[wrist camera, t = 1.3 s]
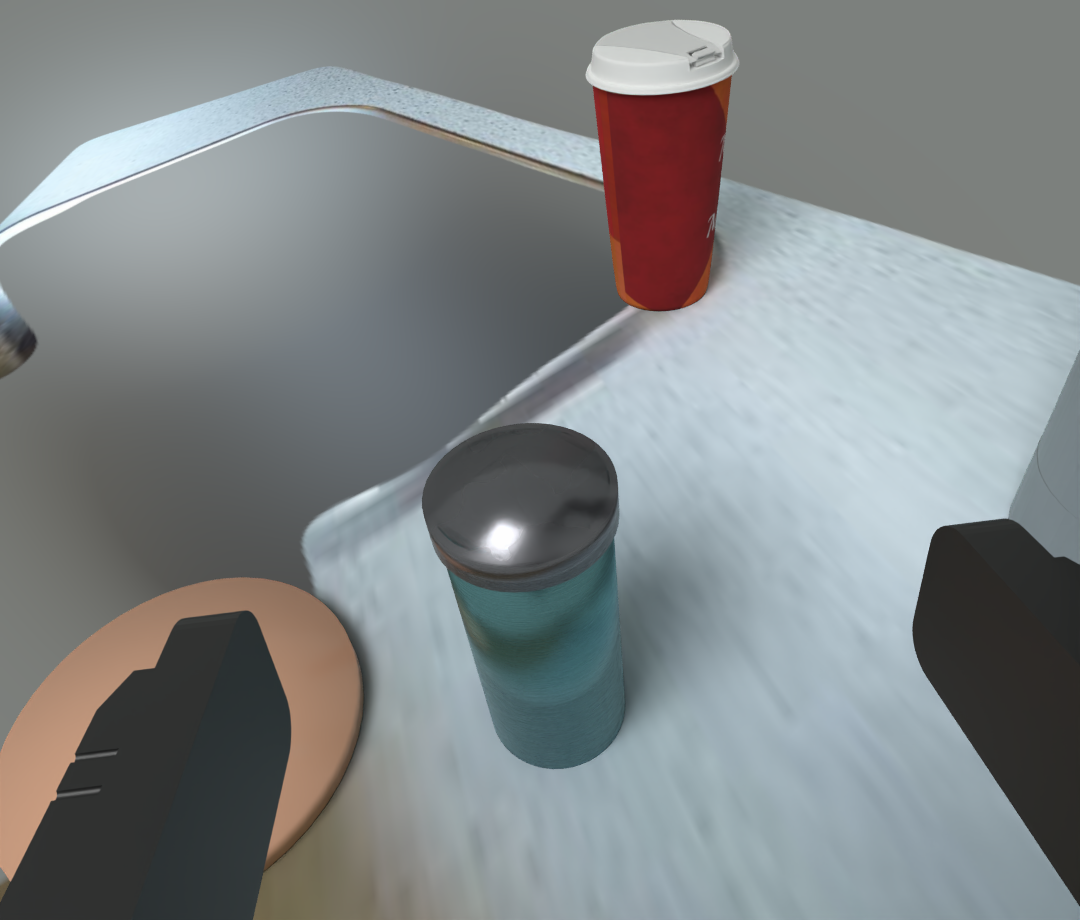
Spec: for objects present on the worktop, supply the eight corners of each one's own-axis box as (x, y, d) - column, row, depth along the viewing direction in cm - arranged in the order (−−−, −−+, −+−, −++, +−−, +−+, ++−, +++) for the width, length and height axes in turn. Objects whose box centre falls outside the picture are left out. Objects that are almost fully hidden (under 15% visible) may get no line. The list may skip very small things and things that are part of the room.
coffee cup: (752, 287, 51) (775, 31, 40) (654, 337, 48) (651, 76, 37) (666, 242, 56) (667, 8, 46) (573, 285, 53) (552, 45, 43)
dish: (193, 555, 38) (184, 542, 38) (429, 651, 33) (425, 638, 32) (-75, 820, 30) (-92, 809, 29) (186, 1012, 24) (172, 1003, 23)
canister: (527, 624, 33) (483, 407, 25) (652, 670, 31) (647, 448, 23) (460, 738, 30) (383, 528, 22) (594, 799, 28) (565, 590, 19)
